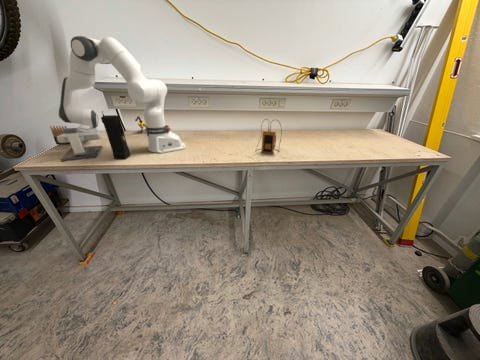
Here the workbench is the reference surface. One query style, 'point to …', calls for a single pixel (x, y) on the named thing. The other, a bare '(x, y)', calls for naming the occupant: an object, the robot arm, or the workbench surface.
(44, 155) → the workbench surface
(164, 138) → the robot arm
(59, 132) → the ammunition clip
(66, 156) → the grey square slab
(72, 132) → the fader tab
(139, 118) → the robot dog
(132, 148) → the workbench surface
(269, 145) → the multimeter
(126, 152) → the portable radio
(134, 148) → the workbench surface
